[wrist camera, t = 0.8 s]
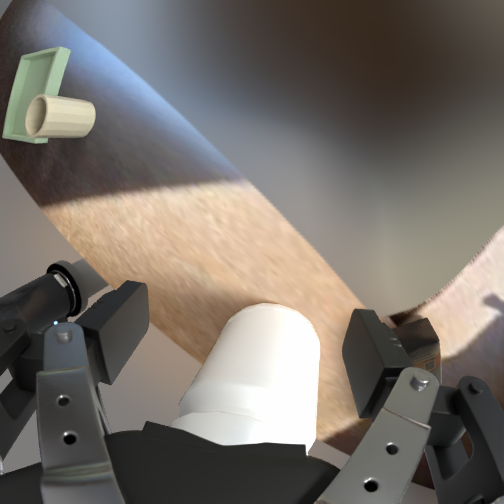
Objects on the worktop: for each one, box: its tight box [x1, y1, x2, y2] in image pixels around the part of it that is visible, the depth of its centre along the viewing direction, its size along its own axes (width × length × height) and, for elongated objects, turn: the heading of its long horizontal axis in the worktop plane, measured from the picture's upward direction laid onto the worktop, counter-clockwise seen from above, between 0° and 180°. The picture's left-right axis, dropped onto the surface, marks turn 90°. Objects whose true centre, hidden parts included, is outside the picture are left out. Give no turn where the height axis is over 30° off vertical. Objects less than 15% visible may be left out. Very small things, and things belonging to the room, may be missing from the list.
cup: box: [25, 94, 95, 138], centre depth 31 cm, size 6×6×10 cm
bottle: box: [169, 303, 320, 455], centre depth 26 cm, size 14×14×28 cm
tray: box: [2, 47, 71, 143], centre depth 35 cm, size 18×15×3 cm
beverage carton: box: [392, 318, 441, 386], centre depth 33 cm, size 8×19×7 cm, turn 23°
